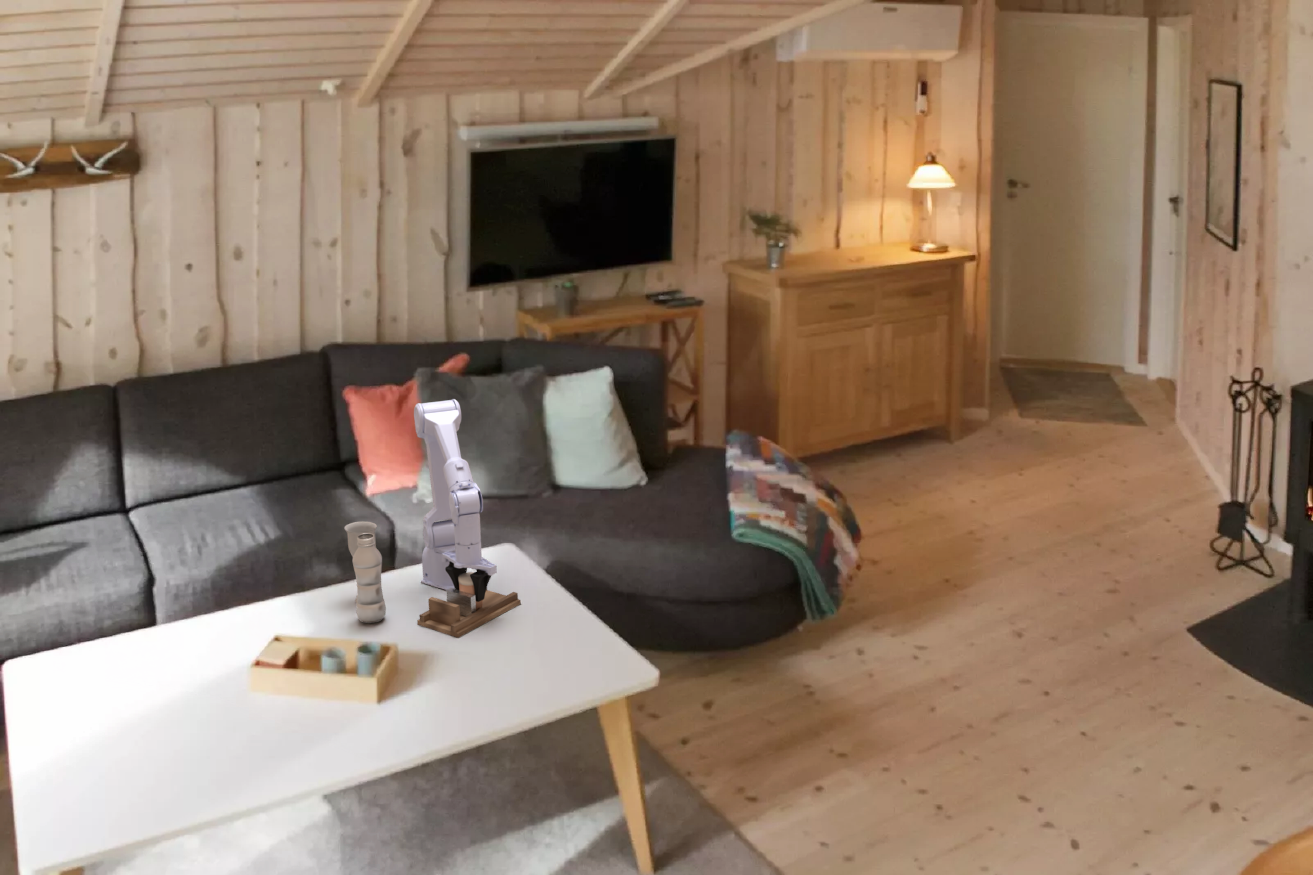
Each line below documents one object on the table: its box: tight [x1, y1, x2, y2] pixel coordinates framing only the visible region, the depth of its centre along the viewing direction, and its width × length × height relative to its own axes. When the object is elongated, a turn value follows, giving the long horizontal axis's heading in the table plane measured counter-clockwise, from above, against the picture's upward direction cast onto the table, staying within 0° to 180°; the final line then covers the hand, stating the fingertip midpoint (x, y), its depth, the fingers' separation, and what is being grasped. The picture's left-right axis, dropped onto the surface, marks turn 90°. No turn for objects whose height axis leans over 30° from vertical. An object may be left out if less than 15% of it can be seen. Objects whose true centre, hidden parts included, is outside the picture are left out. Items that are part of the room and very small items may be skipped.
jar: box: [458, 571, 483, 609], centre depth 295 cm, size 5×5×7 cm
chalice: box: [344, 521, 378, 604], centre depth 301 cm, size 7×7×18 cm
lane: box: [416, 587, 522, 639], centre depth 295 cm, size 12×21×6 cm, turn 146°
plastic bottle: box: [352, 533, 387, 624], centre depth 290 cm, size 6×7×20 cm
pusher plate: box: [445, 588, 476, 617], centre depth 293 cm, size 7×2×5 cm, turn 56°
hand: (470, 597), depth 295 cm, fingers closed on jar, 5 cm apart
